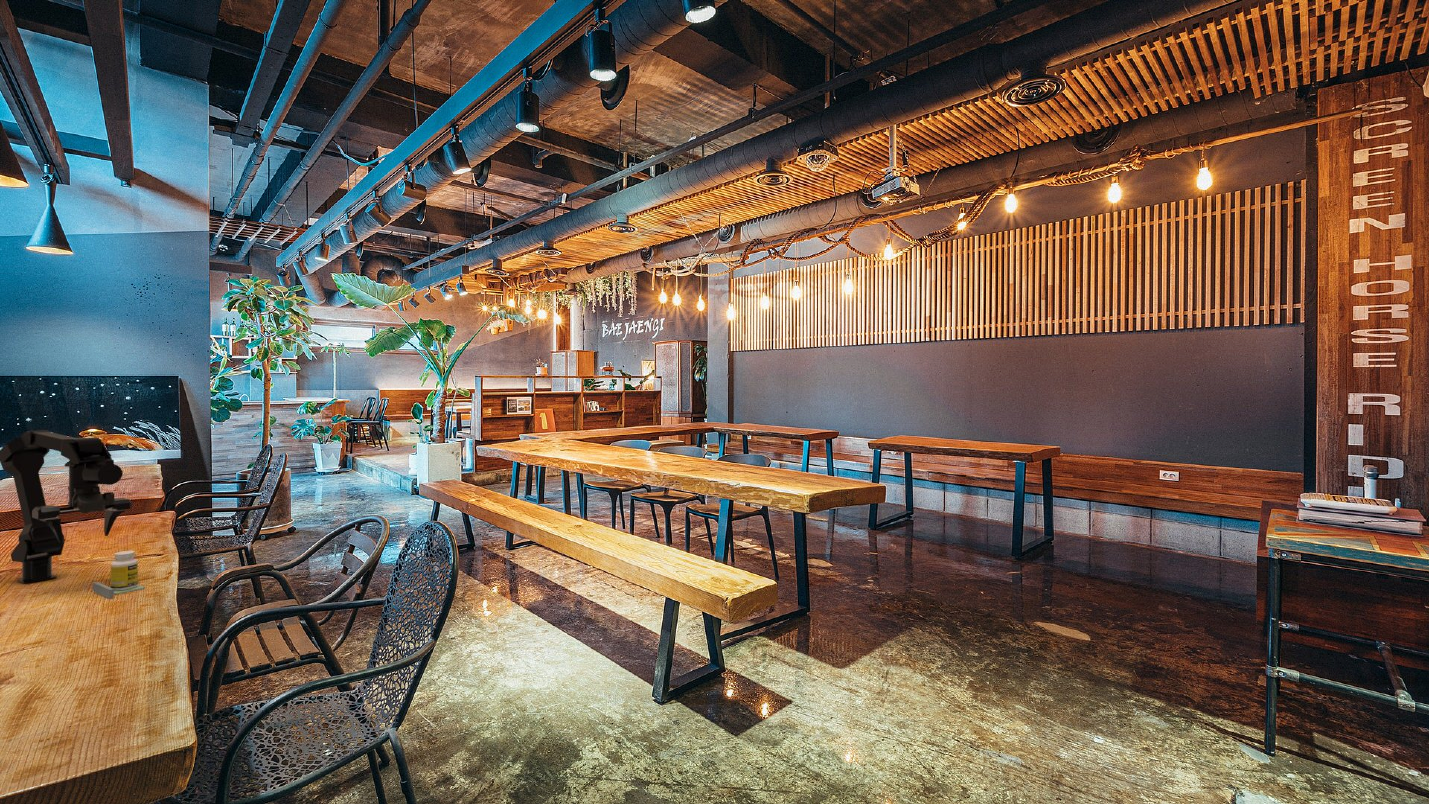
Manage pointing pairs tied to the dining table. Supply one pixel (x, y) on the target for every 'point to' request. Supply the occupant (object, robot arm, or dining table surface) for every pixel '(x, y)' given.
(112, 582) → the supplement bottle
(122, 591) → the coaster
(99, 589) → the acrylic wall
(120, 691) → the dining table surface
